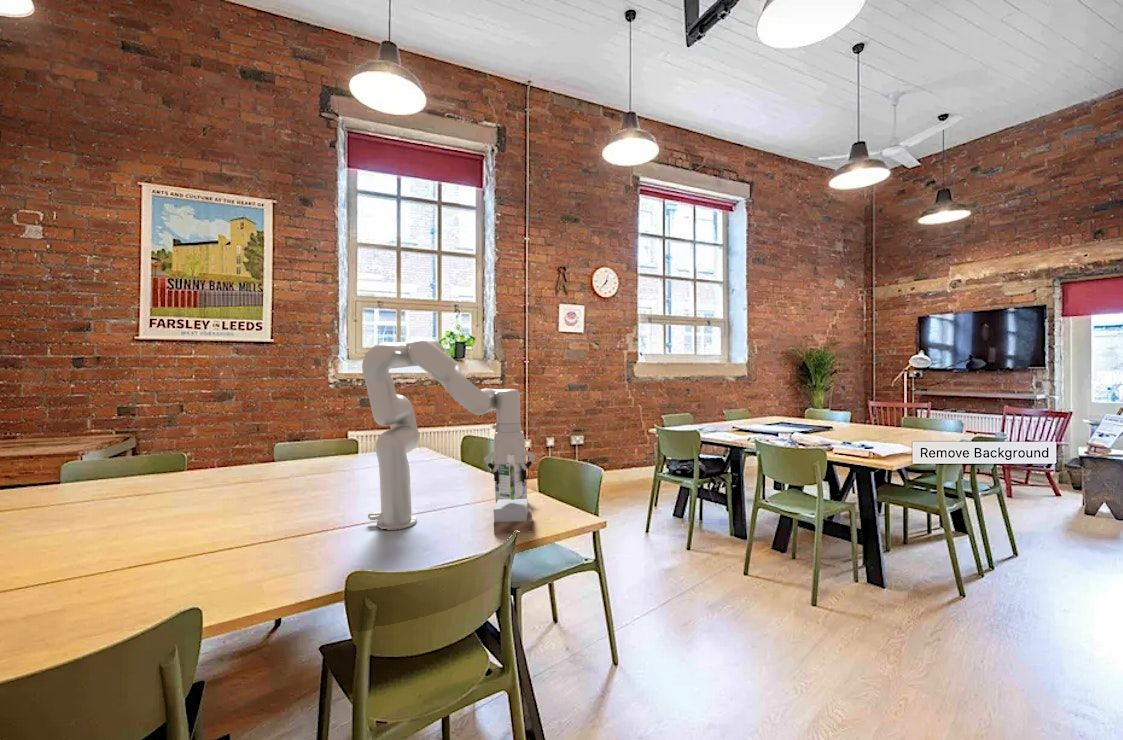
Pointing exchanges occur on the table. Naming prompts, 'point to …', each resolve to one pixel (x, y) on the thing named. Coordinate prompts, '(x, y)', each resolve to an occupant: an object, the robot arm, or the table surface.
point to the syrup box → (510, 479)
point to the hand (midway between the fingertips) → (510, 482)
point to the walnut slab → (514, 525)
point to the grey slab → (511, 510)
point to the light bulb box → (524, 496)
